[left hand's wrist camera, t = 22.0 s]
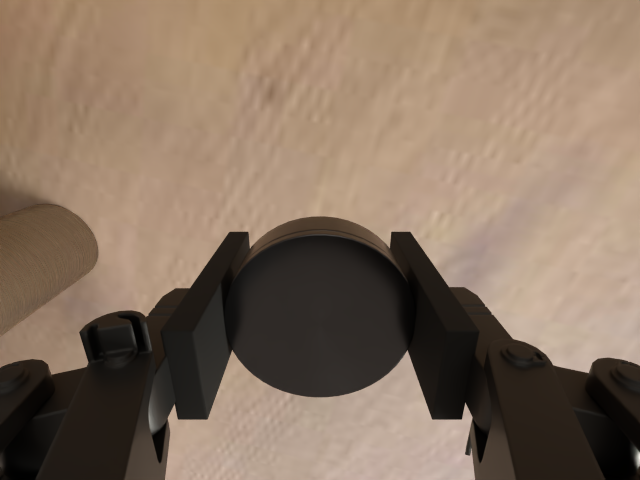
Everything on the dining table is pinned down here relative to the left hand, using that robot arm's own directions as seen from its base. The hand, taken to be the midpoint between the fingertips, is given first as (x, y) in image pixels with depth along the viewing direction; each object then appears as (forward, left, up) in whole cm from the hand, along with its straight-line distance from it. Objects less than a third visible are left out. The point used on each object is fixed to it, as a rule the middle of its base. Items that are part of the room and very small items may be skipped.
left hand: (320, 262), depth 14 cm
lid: (0, 0, +4) cm, 4 cm away
